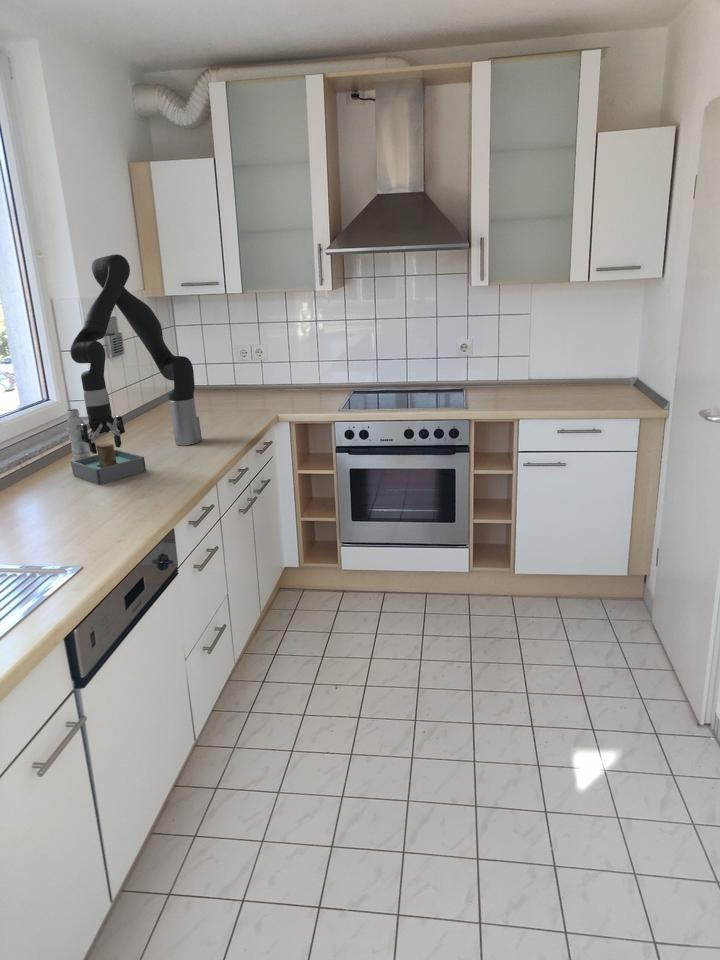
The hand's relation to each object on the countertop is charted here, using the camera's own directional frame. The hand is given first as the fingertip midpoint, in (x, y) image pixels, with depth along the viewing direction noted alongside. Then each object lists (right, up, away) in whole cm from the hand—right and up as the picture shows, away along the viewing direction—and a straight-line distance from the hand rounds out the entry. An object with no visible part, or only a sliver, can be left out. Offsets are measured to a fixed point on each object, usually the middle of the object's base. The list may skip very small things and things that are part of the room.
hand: (106, 450), depth 236 cm
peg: (0, -8, +2) cm, 8 cm away
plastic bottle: (-13, -5, +14) cm, 20 cm away
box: (0, -8, +2) cm, 8 cm away
